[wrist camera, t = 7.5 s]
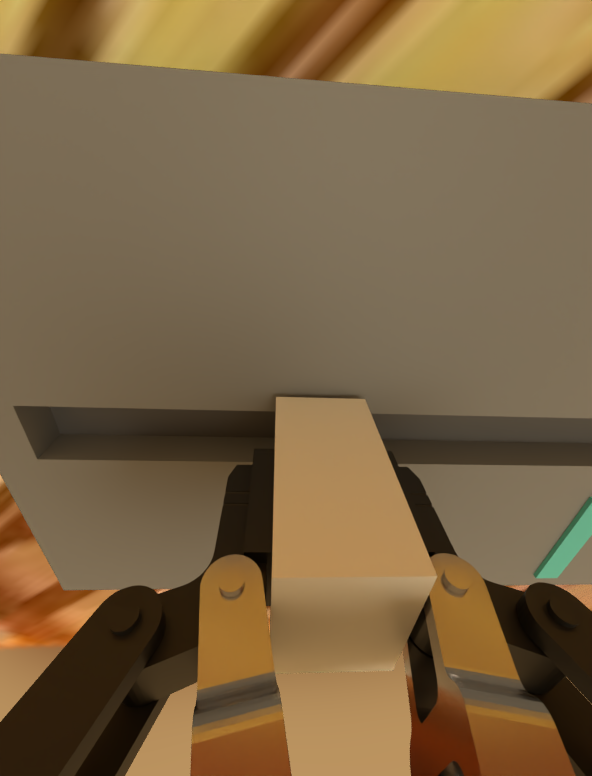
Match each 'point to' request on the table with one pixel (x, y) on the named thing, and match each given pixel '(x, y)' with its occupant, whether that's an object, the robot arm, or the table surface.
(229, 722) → the robot arm
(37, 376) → the panel
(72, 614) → the table surface
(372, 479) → the fader tab
